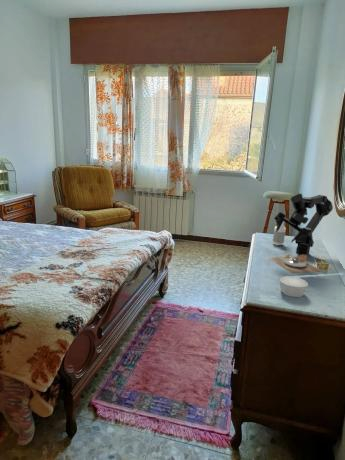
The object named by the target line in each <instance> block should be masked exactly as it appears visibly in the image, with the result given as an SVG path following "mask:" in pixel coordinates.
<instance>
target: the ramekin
mask: <svg viewBox="0 0 345 460" xmlns="http://www.w3.org/2000/svg"><path fill="white" fill-rule="evenodd" d="M279 284H280V291H281V293H282V292H283V294H284V295H285V296H287V295H288V297H290V298H301V297H303V296H305V293H306V292H307V288H308V287H309V283H308V282H307V281H306V280H305V279H302V278H299V277H295V276H282V277H281V278H280V279H279Z"/></svg>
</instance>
